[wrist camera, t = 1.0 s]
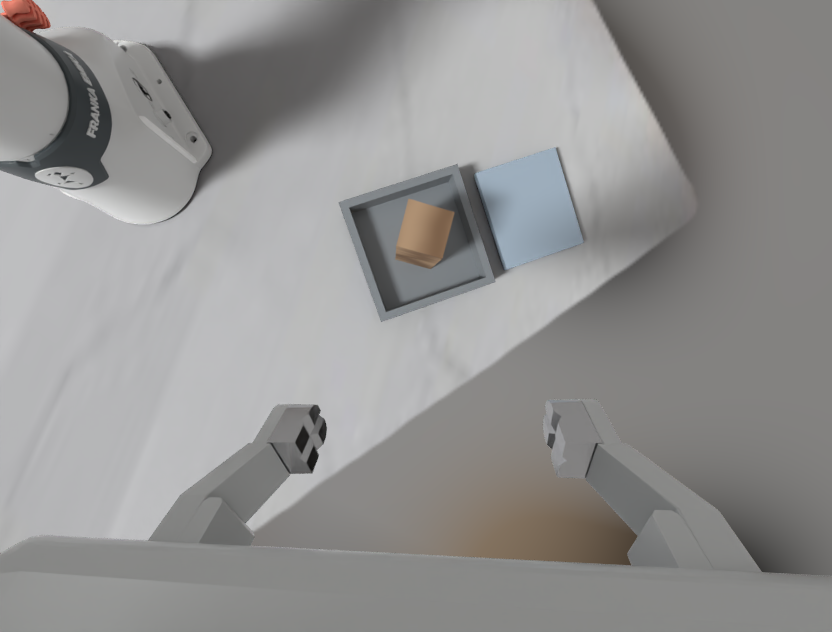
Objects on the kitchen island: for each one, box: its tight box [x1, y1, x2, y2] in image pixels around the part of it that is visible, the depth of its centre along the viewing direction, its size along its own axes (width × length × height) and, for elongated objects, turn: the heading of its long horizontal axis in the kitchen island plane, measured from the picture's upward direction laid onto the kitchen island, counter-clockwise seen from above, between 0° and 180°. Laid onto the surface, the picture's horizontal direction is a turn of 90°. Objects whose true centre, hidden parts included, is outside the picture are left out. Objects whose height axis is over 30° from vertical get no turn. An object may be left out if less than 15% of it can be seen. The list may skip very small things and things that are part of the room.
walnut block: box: [395, 199, 455, 269], centre depth 36 cm, size 5×5×10 cm
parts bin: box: [339, 164, 495, 322], centre depth 40 cm, size 16×16×4 cm
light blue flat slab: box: [474, 148, 584, 270], centre depth 43 cm, size 14×12×1 cm
